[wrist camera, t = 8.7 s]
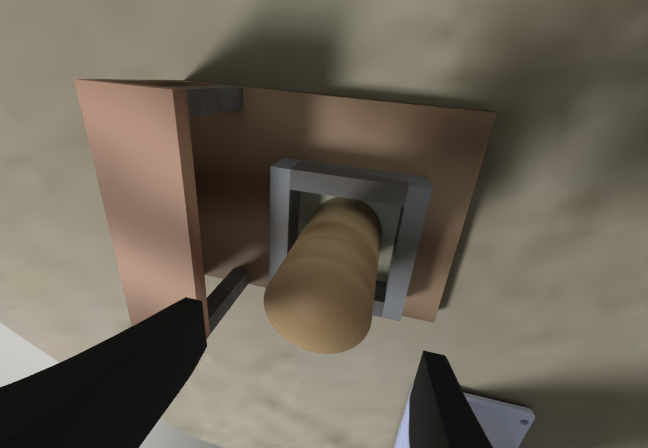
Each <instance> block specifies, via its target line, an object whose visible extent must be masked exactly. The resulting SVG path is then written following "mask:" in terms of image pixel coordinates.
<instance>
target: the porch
mask: <svg viewBox="0 0 648 448" xmlns="http://www.w3.org/2000/svg"><path fill="white" fill-rule="evenodd" d="M74 81H75V85H76V89H77V94H78V98H79V102H80V106H81V111H82V115H83V119H84V123H85V128H86V132H87V136H88V140H89V145H90V149H91V153H92V158H93V162H94V166H95V170H96V175H97V179H98V183H99V187H100V192H101V196H102V200H103V204H104V209H105V213H106V217H107V221H108V226H109V230H110V234H111V239H112V243H113V247H114V251H115V256H116V260H117V264H118V268H119V273H120V277H121V281H122V285H123V290H124V294H125V298H126V303H127V307H128V311H129V315H130V320H131V324H132V326H134V325H136V324H137V323H139V322H141V321H143V320H145V319H147V318H148V317H150V316H152V315H154V314H156V313H157V312H159V311H161V310H163V309H165V308H166V307H168V306H170V305H172V304H174V303H176V302H178V301H179V300H181V299H183V298H185V297H187V298H192V299H196V300H201V301H202V302H203V312H204V322H205V332H206V339H207V338H208V336H209V335H210V334H211V332H212V331H213V330H214V328H215V327H216V326H217V324H218V323H219V322H220V320H221V319H222V318H223V316H224V315H225V314H226V312H227V311H228V310H229V308H230V307H231V306H232V304H233V303H234V302H235V300H236V299H237V298H238V296H239V295H240V294H241V292H242V291H243V290H244V288H245V287H246V286H247V285H248V284H252V285H256V286H261V287H266V288H267V285H268V283H269V282H270V280H271V279H272V277H273V276H274V274H275V273H276V271H277V270H278V268H279V267H280V265H281V263H282V262H283V260H284V259H285V257H286V256H287V254H288V253H289V251H290V250H291V248H292V247H293V245H294V244H295V242H296V240H297V239H298V237H299V236H300V234H301V233H302V231H303V230H304V228H305V227H306V225H307V224H308V222H309V221H310V219H311V217H312V216H313V214H314V213H315V211H316V210H317V209H318V207H319V206H320V205H322V204H323V203H324V202H326V201H327V200H330V199H332V198H336V197H342V198H348V199H355V200H361V201H363V202H365V203H366V204H367V205H369V206H370V207H371V208H372V209H373V210H374V211H375V213H376V214H377V216H378V218H379V220H380V223H381V228H382V235H381V244H380V252H379V261H378V269H377V277H376V286H375V294H374V303H373V311H372V315H374V316H379V317H383V318H388V319H393V320H398V321H400V320H401V316H405V317H410V318H415V319H420V320H424V321H429V322H434V321H435V318H436V314H437V311H438V308H439V305H440V301H441V298H442V295H443V291H444V288H445V285H446V281H447V278H448V275H449V271H450V268H451V265H452V262H453V258H454V255H455V252H456V248H457V245H458V242H459V238H460V235H461V232H462V228H463V225H464V222H465V218H466V215H467V212H468V209H469V205H470V202H471V199H472V195H473V192H474V189H475V185H476V182H477V179H478V175H479V172H480V169H481V166H482V162H483V159H484V156H485V152H486V149H487V146H488V142H489V139H490V136H491V132H492V129H493V126H494V123H495V119H496V116H497V113H495V112H492V111H482V110H472V109H462V108H452V107H443V106H433V105H423V104H413V103H403V102H393V101H383V100H373V99H363V98H354V97H344V96H334V95H324V94H314V93H304V92H294V91H284V90H274V89H265V88H255V87H245V86H235V85H225V84H215V83H205V82H195V81H185V80H110V79H74ZM204 275H209V276H213V277H218V278H223V281H222V282H221V283H220V284H219V285H218V286H217V287H216V288H215V290H214V291H213V292H212V293H211V294H210V295H209V296H208V297H207V298H206V288H205V277H204Z"/></svg>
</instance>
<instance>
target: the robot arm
mask: <svg viewBox="0 0 648 448" xmlns="http://www.w3.org/2000/svg"><path fill="white" fill-rule="evenodd" d="M206 347H207V341H206V332H205V322H204V312H203V302H202V301H201V300H196V299H192V298H187V297H185V298H183V299H181V300H179V301H178V302H176V303H174V304H172V305H170V306H168V307H166V308H165V309H163V310H161V311H159V312H157V313H156V314H154V315H152V316H150V317H148V318H147V319H145V320H143V321H141V322H139V323H137V324H136V325H134V326H132V327H130V328H128V329H126V330H125V331H123V332H121V333H119V334H117V335H115V336H113V337H111V338H109V339H107V340H105V341H103V342H101V343H99V344H97V345H95V346H93V347H91V348H89V349H87V350H85V351H83V352H82V353H80V354H78V355H75V356H73V357H71V358H69V359H67V360H65V361H63V362H60V363H58V364H56V365H54V366H52V367H49V368H47V369H45V370H42V371H40V372H38V373H35V374H33V375H31V376H29V377H26V378H24V379H21V380H19V381H16V382H13V383H11V384H8V385H6V386H3V387H0V448H139V447H140V445H141V444H142V442H143V441H144V439H145V438H146V437H147V435H148V434H149V433H150V431H151V430H152V429H153V427H154V426H155V424H156V423H157V422H158V420H159V419H160V418H161V416H162V415H163V413H164V412H165V411H166V409H167V408H168V407H169V405H170V404H171V402H172V401H173V400H174V398H175V397H176V395H177V394H178V393H179V391H180V390H181V389H182V387H183V386H184V384H185V383H186V381H187V380H188V379H189V377H190V376H191V374H192V372H193V371H194V369H195V367H196V366H197V364H198V362H199V360H200V358H201V357H202V355H203V353H204V351H205V349H206ZM534 419H535V415H534V413H533V411H532V410H531V409H529V408H526V407H522V406H518V405H514V404H510V403H506V402H501V401H497V400H493V399H489V398H485V397H481V396H476V395H472V394H468V393H464V392H463V391H462V389H461V387H460V385H459V383H458V381H457V379H456V376H455V374H454V372H453V370H452V368H451V366H450V364H449V361H448V359H447V358H446V356H445V355H441V354H436V353H432V352H427V351H423V354H422V357H421V360H420V364H419V367H418V371H417V374H416V377H415V381H414V383H413V384H412V387H411V390H410V393H409V397H408V400H407V404H406V407H405V410H404V414H403V417H402V420H401V424H400V427H399V431H398V434H397V437H396V441H395V444H394V447H393V448H518V447H519V445H520V444H521V442H522V440H523V438H524V437H525V435H526V433H527V432H528V430H529V428H530V426H531V425H532V423H533V421H534Z"/></svg>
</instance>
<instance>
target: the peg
mask: <svg viewBox="0 0 648 448" xmlns="http://www.w3.org/2000/svg"><path fill="white" fill-rule="evenodd" d="M381 235H382V228H381V223H380V220H379V218H378V216H377V214H376V213H375V211H374V210H373V209H372V208H371V207H370V206H369V205H367V204H366V203H365V202H363V201H361V200H355V199H348V198H342V197H336V198H332V199H330V200H327V201H326V202H324V203H323V204H322V205H320V206H319V207H318V209H317V210H316V211H315V213H314V214H313V216H312V217H311V219H310V221H309V222H308V224H307V225H306V227H305V228H304V230H303V231H302V233H301V234H300V236H299V237H298V239H297V240H296V242H295V244H294V245H293V247H292V248H291V250H290V251H289V253H288V254H287V256H286V257H285V259H284V260H283V262H282V263H281V265H280V267H279V268H278V270H277V271H276V273H275V274H274V276H273V277H272V279H271V280H270V282H269V283H268V285H267V288H266V290H265V294H264V307H265V311H266V314H267V317H268V319H269V321H270V323H271V324H272V326H273V327H274V328H275V329H276V331H277V332H278V333H279V334H280V335H281V336H282V337H284V338H285V339H286V340H287V341H289V342H290V343H292V344H294V345H296V346H298V347H300V348H302V349H305V350H308V351H311V352H316V353H323V354H332V353H339V352H344V351H346V350H349V349H351V348H353V347H355V346H356V345H358V344H359V343H360V342H361V341H362V340H363V339H364V338H365V336H366V335H367V333H368V331H369V329H370V326H371V320H372V311H373V303H374V294H375V286H376V277H377V269H378V261H379V252H380V244H381Z"/></svg>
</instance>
